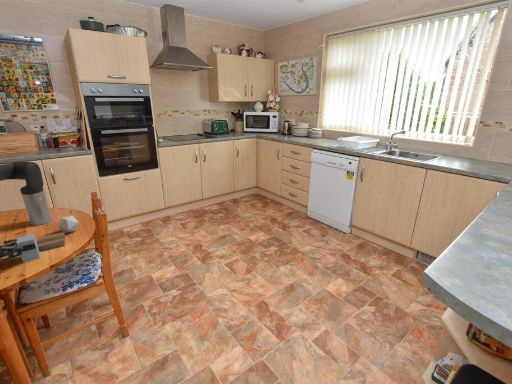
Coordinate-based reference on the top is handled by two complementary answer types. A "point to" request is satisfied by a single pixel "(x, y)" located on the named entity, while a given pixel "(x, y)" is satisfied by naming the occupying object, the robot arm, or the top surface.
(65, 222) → the die
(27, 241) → the gray block
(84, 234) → the top surface
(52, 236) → the walnut base
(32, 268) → the top surface
